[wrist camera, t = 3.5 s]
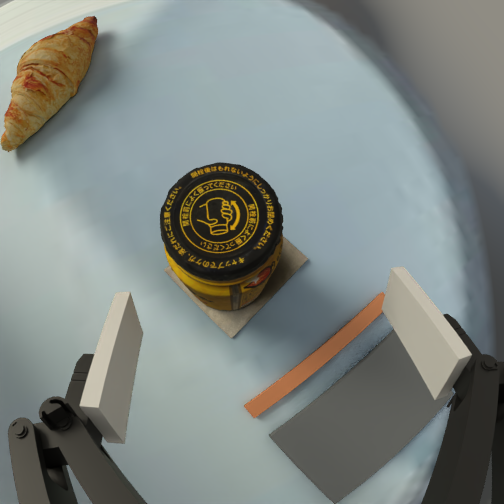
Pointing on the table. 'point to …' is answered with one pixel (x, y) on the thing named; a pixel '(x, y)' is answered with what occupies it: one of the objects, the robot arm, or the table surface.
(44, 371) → the table surface
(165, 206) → the condiment
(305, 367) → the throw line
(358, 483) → the mat
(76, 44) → the croissant
